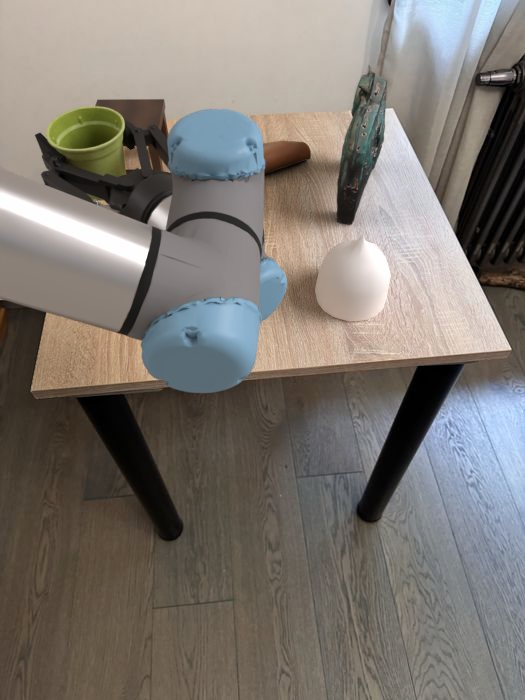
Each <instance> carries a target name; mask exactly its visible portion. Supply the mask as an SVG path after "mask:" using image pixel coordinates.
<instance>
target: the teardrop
mask: <svg viewBox="0 0 525 700" xmlns="http://www.w3.org/2000/svg"><path fill="white" fill-rule="evenodd" d="M391 278H392V274H391V270H390V267H389V263H388V260H387V257H386V255H385V254H384V253H383V252H382V250H381V249H380V247H379V245H377V244H376V243H375V242H374V243H373V242H370V241H367V240H366V239H365V236H364V234H362V235H361V236H360V237H358V239H350V240H349V239H348V240H342V241H341V242H339V243H337V244H336V245H334V246H333V247H332V248H330V250H329V251H327V253H326V254H325V256H324V257H323V259H322V261H321V265H320V267H319V270H318V275H317V279H316V283H315V288H314V292H315V298H316V303H317V304H318V305H319V307H320V308H321V309H322V311H323V312H325V313H326V314H328V315H329V316H331V317H332V318H334V319H338V320H342V321H345V322H349V323H350V322H351V323H353V322H364V321H368V320H370V319H373V318H375V317H377V315H379V314H380V313H381V312H382V311H383V310H384V307H385V304H386V301H387V298H388V294H389V287H390V282H391Z"/></svg>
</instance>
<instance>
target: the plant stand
mask: <svg viewBox="0 0 525 700" xmlns="http://www.w3.org/2000/svg"><path fill="white" fill-rule="evenodd" d="M94 106H99V107H106V108H110V109H112V110H114V111H116V112H118V113H119V114H120V115H121V116H122V117H123V119H124V120H128V121H130V122H131V123H132V124H133V125H134V126H136V127H137V128H142V130H147V129H148V126H149V125H157V126H158V128H159V129H160V130H161V132H162V133H163V134H164V135H165V137H166V138H167V139H168V135H169V129H168V124H167V118H166V102H165V99H164V98H147V99H145V98H141V99H139V98H137V99H136V98H133V99H129V98H128V99H122V98H121V99H119V98H118V99H113V98H112V99H110V98H109V99H97V100H96V102H95V105H94ZM134 145H135V144H134ZM123 147H126V146H125V145H124V144H123ZM135 147H136V145H135ZM147 149H148V154H149V159H150V163H151V167H152V170H157V171H164V167H163V161H162V159H161V158H160V157H159V155H158V154H157V152H156V151H155V150H154V148H153V147H152V145H148V146H147ZM134 169H135V168H133V169H131V168H130V169H129V168H128V169H127V168H126V174H128V173H129V172H131V171H132V170H134Z"/></svg>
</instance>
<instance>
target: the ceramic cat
mask: <svg viewBox="0 0 525 700" xmlns="http://www.w3.org/2000/svg"><path fill="white" fill-rule="evenodd" d="M387 93H388V80H387V79H386V78H385V77H381V76H377V75H376V73H375V72H374V71H373V70H372V67H371V65H368V72H367V74H362V75H361V76H360V79H359V81H358V84H357V87H356V91H355V93H354V99H353V102H352V108H351V112H350V113H351V119H350V123H349V126H348V128H347V130H346V133H345V136H344V141H343V144H342V148H341V156H340V160H339V170H338V177H337V182H336V184H337V185H336V187H337V188H336V189H337V191H336V215H335V216H336V222H337V223H340V224H347V225H353V223H354V221H355V217H356V215H357V212H358V209H359V207H360V205H361V204H360V203H361V200H362V197H363V195H364V191H365V189H366V186H367V184H368V182H369V179H370V177H371V174H372V172H373V170H374V169H375V168H376V164H377V163H378V159H379V157H380V155H381V150H382V148H383V143H384V142H385V131H386V122H385V121H386V109H387V96H388V95H387Z"/></svg>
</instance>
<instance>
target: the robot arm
mask: <svg viewBox="0 0 525 700" xmlns="http://www.w3.org/2000/svg"><path fill="white" fill-rule="evenodd" d="M124 123H125V129H124V132H123V140H122V143H123V144H124V145H125V146H124V147H126V148H127V149H128V150H129V151H132V150H134V149H136V152H137V156H138V161H139V166H140V168H139V167H137V168H133V169H134V170H132V171H131V172H129V173H128V174H126V175H122V176H119V177H116V176H113V175H110V174H105V175H104V176H102V175H99V174H96V173H93V172H90V171H87V170H84V169H81V168H78V167H75V166H72V165H69V164H67V161H66V158H65V156H64V155H63V154H61V153H60V152H58V151H57V150H56V149H55V148H54V147H53V146H51V145H50V144H49V142H48V140H47V138H46V136H44V135H43V134H42V132H37V133H35V134H34V136H35V137H34V138H35V139H36V142H37V144H38V146H39V149H40V151H41V154H42V155H41V160H42V162H43V164H44V166H45V169H46V170H44V171H42V172H41V173H40V176H41V179H42V181H43V183H41V182H39V181H36V180H34V179H31V178H28V177H26V176H22V175H21V174H18V173H15V172H13V171H10V170H8V169H5V168H2V167H0V300H3V301H7V302H9V303H13V304H16V305H20V306H22V307H23V306H24V307H27V308H30V309H33V310H37V311H40V312H44V313H48V314H51V315H54V316H57V317H61V318H64V319H67V320H71V321H75V322H78V323H81V324H85V325H88V326H91V327H95V328H98V329H102V330H105V331H108V332H112V333H116V334H120V335H123V336H125V337H128V338H132V339H134V340H138V341H141V342H140V347H141V361H142V364H143V366H144V368H145V370H146V371H147V373H148V374H149V375H150V376H151V377H152V378H154V379H156V380H158V381H163V382H164V384H165V386H167V387H169V388H171V389H173V390H177V391H181V392H185V393H190V394H191V393H193V394H211V393H212V394H213V393H217V392H222V391H227V390H229V389H231V388H233V387H235V386H237V385H239V384H240V383H242V382H243V381H244V380H245V379H246V378H248V377H249V376H250V375H251V373H252V371H253V369H254V366H255V364H256V360H257V352H258V345H259V337H260V330H261V329H260V328H261V324H262V323H263V321H265V320H267V319H268V318H269V317H270V316H271V315H273V313H274V312H275V311H276V310H277V309H278V308H279V306H280V305H281V303H282V301H283V299H284V297H285V295H286V292H287V290H288V278H287V276H286V273H285V271H284V270H283V268H282V267H280V265H279V264H278V263H277V261H276V260H275V259H274V258H272V257H270V256H268V255H267V253H266V250H265V249H266V247H265V245H266V243H265V241H266V240H265V239H266V238H265V237H266V236H265V235H266V234H265V228H264V219H265V218H264V216H265V174H264V169H265V162H266V160H265V159H264V153H263V143H264V138H263V134H262V131H261V128H260V127H259V126H258V124H257V123H256V122H255V121H254V120H253V119H252V118H251V117H249V116H247V115H245V114H243V113H242V112H239V111H236V110H232V109H226V108H214V109H213V108H207V109H200V110H197V111H194V112H191V113H189V114H187V115H185V116H183V117H181V118H180V119H179V120H177V121H176V122H175V123H174V124H173V126H172V127H171V128H170V130H169V131H168V139H167V138H166V137H165V135H164V134H163V133H162V132H161V130H160V129H159V128H158V126H157V125H149V126H148V129H147V130H142V128H137V127H136V126H134V125H133V124H132V123H131V122H130V121H128V120H124ZM134 144H135V145H136V146H135V145H134ZM148 145H152V147H153V148H154V150H155V151H156V152H157V154H158V155H159V157H160V158H161V160H162V163H163V164H164V165H165V166H166V168H167V169H168V170H169V171H164V170H163V171H157V170H152V169H153V167H152V162H151V158H150V154H149V150H148ZM87 194H89V195H92V196H95V197H98V198H101V199H103V201H104V202H105V203H106V204H103V203H102V202H101V201H98V200H97V199H93V200H92V199H91V197H90V196H89V195H87Z"/></svg>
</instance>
